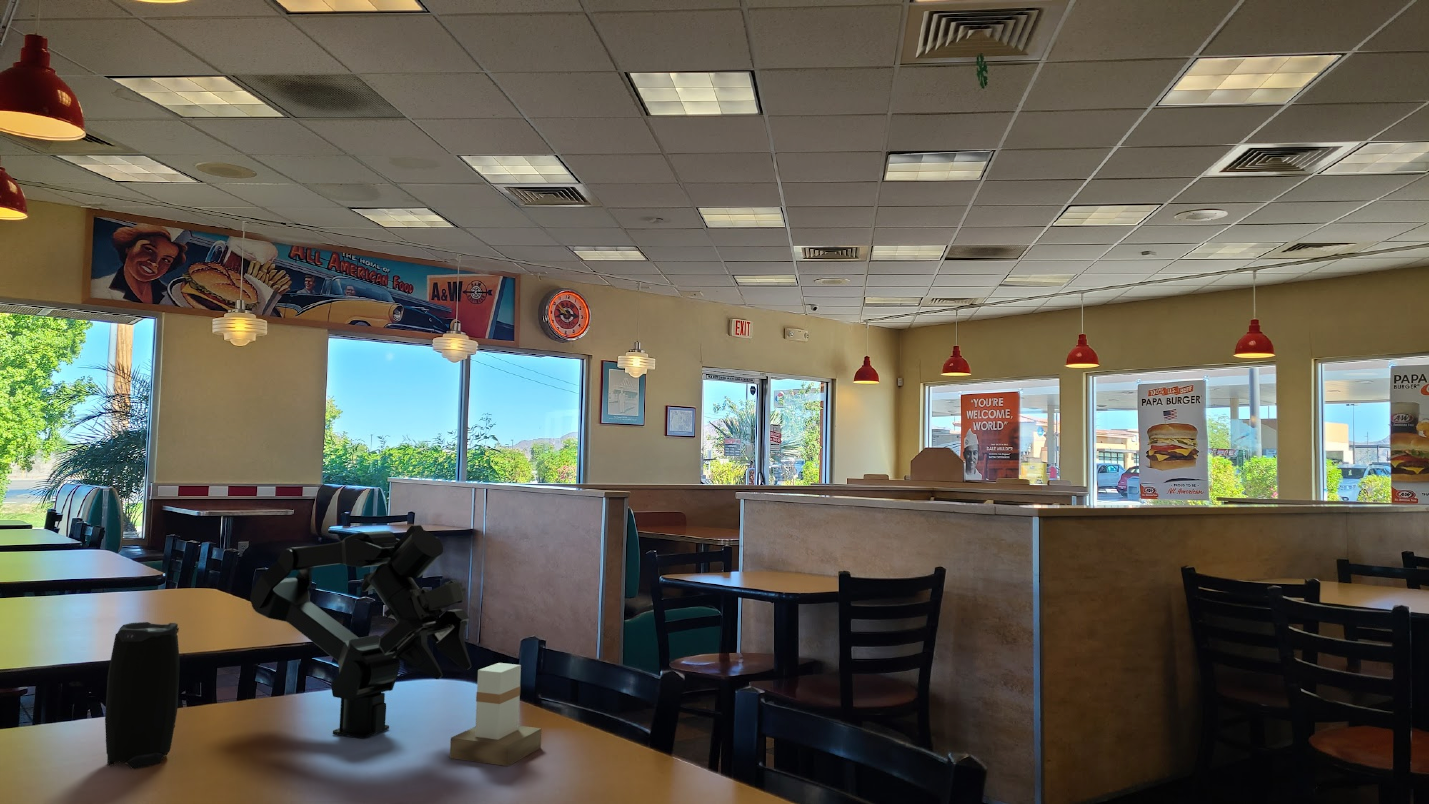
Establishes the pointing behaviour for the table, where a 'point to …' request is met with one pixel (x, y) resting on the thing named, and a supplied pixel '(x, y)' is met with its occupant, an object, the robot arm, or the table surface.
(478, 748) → the base
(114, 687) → the portable speaker
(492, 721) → the carton
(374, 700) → the robot arm
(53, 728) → the table surface
